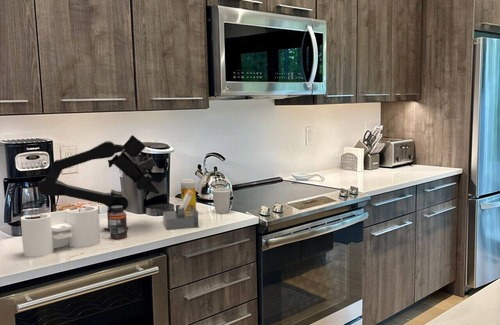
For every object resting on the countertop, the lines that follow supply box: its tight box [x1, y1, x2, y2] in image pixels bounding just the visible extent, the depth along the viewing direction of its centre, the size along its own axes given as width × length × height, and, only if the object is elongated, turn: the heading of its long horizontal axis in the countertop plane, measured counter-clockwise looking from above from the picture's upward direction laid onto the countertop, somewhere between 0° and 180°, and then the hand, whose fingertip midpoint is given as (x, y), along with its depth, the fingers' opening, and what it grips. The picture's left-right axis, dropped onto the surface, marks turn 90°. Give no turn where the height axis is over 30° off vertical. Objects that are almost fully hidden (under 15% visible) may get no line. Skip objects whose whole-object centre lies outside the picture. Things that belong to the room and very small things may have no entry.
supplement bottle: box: [109, 205, 128, 240], centre depth 176 cm, size 6×6×11 cm
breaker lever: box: [179, 189, 193, 212], centre depth 193 cm, size 2×5×9 cm, turn 15°
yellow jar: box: [180, 178, 197, 210], centre depth 210 cm, size 6×6×15 cm
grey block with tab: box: [162, 204, 199, 231], centre depth 193 cm, size 12×14×7 cm
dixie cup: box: [211, 187, 232, 215], centre depth 213 cm, size 8×8×10 cm
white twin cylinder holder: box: [20, 205, 101, 258], centre depth 164 cm, size 25×10×12 cm, turn 132°
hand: (158, 193), depth 190 cm, fingers closed
